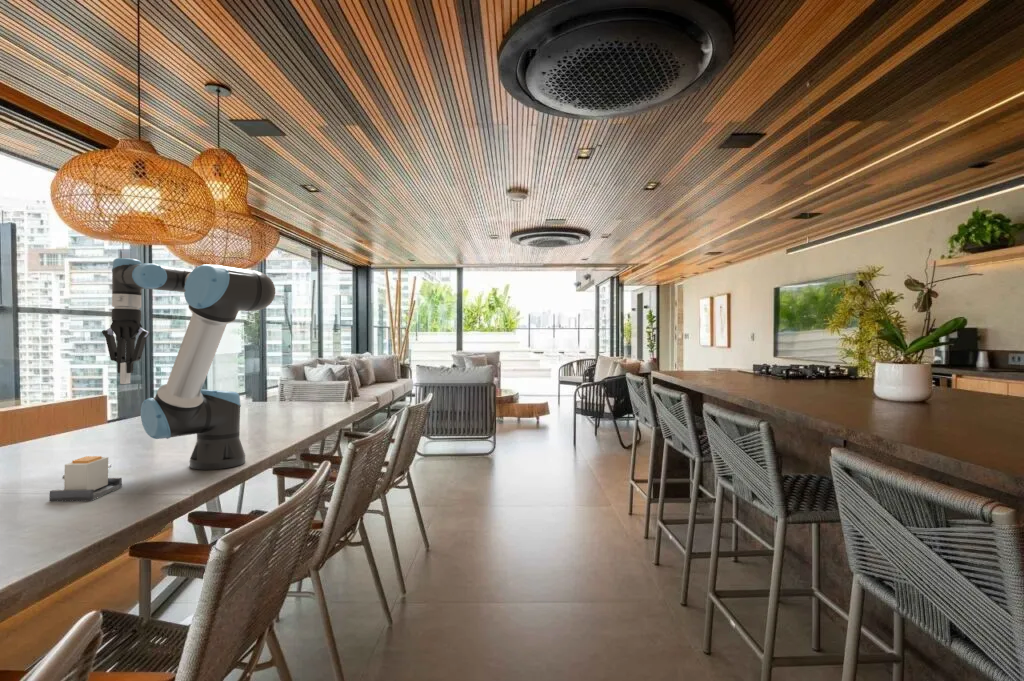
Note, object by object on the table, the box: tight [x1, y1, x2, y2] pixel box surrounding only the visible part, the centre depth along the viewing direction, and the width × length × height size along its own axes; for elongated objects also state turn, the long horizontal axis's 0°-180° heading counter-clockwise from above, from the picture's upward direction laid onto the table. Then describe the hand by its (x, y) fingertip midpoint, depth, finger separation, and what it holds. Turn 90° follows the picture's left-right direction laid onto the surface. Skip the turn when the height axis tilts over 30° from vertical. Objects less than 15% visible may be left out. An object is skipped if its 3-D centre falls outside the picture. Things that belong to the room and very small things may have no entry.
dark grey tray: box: [48, 477, 123, 502], centre depth 132 cm, size 9×12×2 cm
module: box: [63, 455, 109, 490], centre depth 132 cm, size 5×8×8 cm, turn 7°
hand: (125, 383), depth 166 cm, fingers closed
